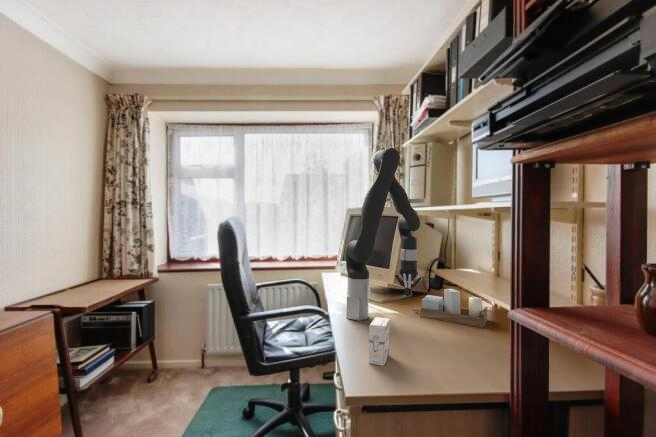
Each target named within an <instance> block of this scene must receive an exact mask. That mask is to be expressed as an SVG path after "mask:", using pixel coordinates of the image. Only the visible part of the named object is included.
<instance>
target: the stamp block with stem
mask: <svg viewBox="0 0 656 437" xmlns="http://www.w3.org/2000/svg"><path fill="white" fill-rule="evenodd" d="M443 305H444V297H443V296H437V295H431V294H427V295H426V296H424V297H423V298H422V299H421V308H425V309H431V310H436V311H442V312H443ZM421 308H415V307H414V308H413V309H412V311H414V312H417V313H421Z"/></svg>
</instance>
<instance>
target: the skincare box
mask: <svg viewBox="0 0 656 437" xmlns="http://www.w3.org/2000/svg"><path fill="white" fill-rule="evenodd" d="M443 291H444V292H443V293H444V297H443V305H444V312H448V313H454V314H460V308H461V292H460V290H456V289H454V288H444V290H443Z"/></svg>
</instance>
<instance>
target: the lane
mask: <svg viewBox="0 0 656 437" xmlns="http://www.w3.org/2000/svg"><path fill="white" fill-rule="evenodd" d="M420 309H421V312H420V318H421V319H423V318H426V319H432V320H437V321H444V322H448V323H453V324H459V325H464V326H469V327H475V328H482V329H484V328H485V326H486V323H487V321H488V307H487V306H484V307H483V308H482V313H481V318H478V317H472V316H469V308H466V307H460V314H454V313H448V312H444V304H443V312H442V311H436V310H431V309H425V308H422V307H421V308H420Z"/></svg>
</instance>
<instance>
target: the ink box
mask: <svg viewBox="0 0 656 437" xmlns="http://www.w3.org/2000/svg"><path fill="white" fill-rule="evenodd" d="M390 320H391V318H386V317H377V316H376V317H374V319H373V320H372V321H371V323H370V324H369V330H368V332H369V335H368V364H371V365H378V366H385V363H386V361H387V359H388V358H389V356H390V330H391V329H390V328H391V327H390V324H391V321H390Z"/></svg>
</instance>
